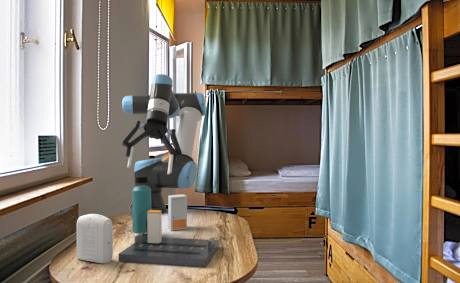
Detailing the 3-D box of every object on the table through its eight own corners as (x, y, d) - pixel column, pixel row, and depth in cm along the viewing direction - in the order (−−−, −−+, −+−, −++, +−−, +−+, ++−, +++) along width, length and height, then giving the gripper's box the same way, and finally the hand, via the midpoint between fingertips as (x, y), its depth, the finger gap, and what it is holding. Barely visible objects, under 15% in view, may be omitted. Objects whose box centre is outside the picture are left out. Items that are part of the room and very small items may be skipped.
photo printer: (115, 259, 92) (114, 214, 92) (104, 265, 88) (103, 217, 88) (86, 254, 96) (85, 211, 95) (73, 260, 92) (73, 214, 91)
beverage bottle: (147, 239, 110) (146, 177, 110) (128, 237, 111) (127, 177, 111) (155, 233, 116) (155, 175, 116) (137, 232, 118) (137, 174, 117)
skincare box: (171, 231, 119) (170, 197, 119) (168, 228, 123) (167, 195, 123) (187, 229, 121) (187, 195, 121) (184, 226, 125) (184, 194, 125)
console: (144, 242, 106) (144, 229, 106) (219, 246, 102) (219, 233, 102) (118, 261, 91) (118, 246, 90) (205, 267, 86) (205, 251, 86)
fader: (150, 240, 101) (150, 210, 100) (161, 241, 100) (161, 210, 100) (147, 242, 98) (147, 211, 98) (159, 243, 98) (158, 212, 98)
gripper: (123, 101, 114) (112, 159, 106) (193, 117, 123) (188, 173, 115) (120, 110, 121) (109, 166, 112) (187, 125, 130) (182, 178, 121)
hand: (149, 170), depth 114 cm, fingers open, 13 cm apart
